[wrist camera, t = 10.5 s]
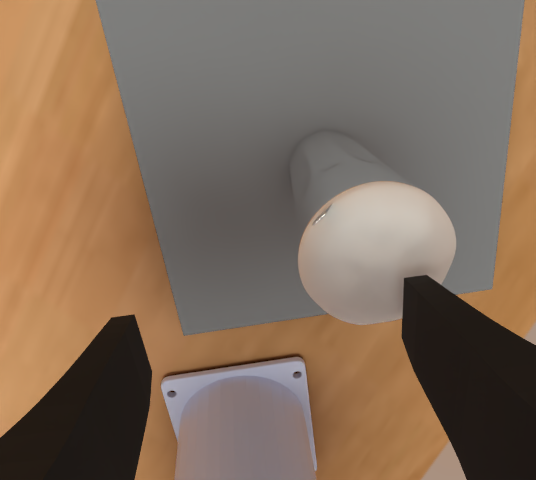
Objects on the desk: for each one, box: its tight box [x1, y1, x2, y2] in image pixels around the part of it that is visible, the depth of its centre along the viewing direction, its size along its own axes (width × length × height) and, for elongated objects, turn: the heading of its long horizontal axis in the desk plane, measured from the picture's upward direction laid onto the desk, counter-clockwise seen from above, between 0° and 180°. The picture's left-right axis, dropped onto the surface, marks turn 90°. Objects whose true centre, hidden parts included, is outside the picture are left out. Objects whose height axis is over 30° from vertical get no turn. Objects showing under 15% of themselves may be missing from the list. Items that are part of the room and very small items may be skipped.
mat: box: [96, 0, 524, 336], centre depth 22 cm, size 16×16×1 cm
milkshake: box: [289, 130, 456, 325], centre depth 17 cm, size 4×5×10 cm
